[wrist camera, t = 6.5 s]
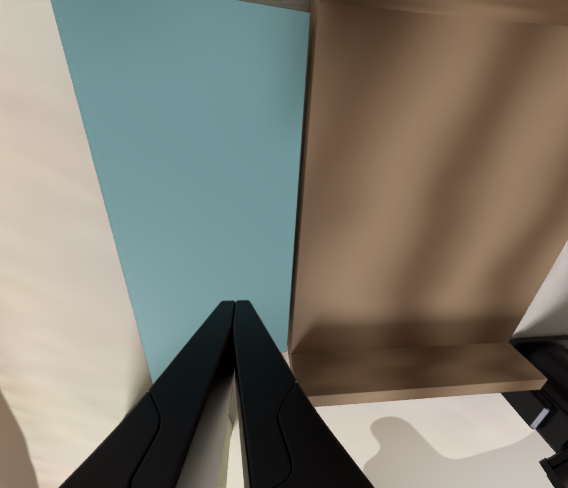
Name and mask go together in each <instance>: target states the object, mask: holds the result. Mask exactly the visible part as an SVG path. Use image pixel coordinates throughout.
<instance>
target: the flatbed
mask: <svg viewBox="0 0 568 488" xmlns="http://www.w3.org/2000/svg"><path fill="white" fill-rule="evenodd" d="M309 13H310V21H309V35H308V50H307V64H306V78H305V93H304V107H303V122H302V136H301V150H300V165H299V179H298V194H297V208H296V222H295V237H294V251H293V266H292V280H291V294H290V309H289V323H288V338H287V347H288V354H289V361H290V368H291V371H292V372H293V374H294V376H295V377H296V379H297V382H299V384H300V386H301V387H302V389H303V391H304V392H305V394H306V396H307V397H308V399H309V400H310V402H311V403H312V405H313V407H319V406H332V405H345V404H358V403H371V402H384V401H397V400H409V399H422V398H435V397H448V396H461V395H474V394H487V393H500V392H513V391H525V390H538V389H541V388H542V386H543V385H544V384H545V382H546V381H547V380H548V379H547V378H546V377H545V376H544V375H543V374H542V373H541V372H540V371H539V370H537V369H536V368H535V367H534V366H533V365H532V364H531V363H530V362H529V361H528V360H527V359H526V358H525V357H524V356H522V355H521V354H520V353H519V352H518V351H517V350H516V349H515V348H514V347H513V346H512V345H511V344H510V343H509V340H510V339H511V337H512V335H513V333H514V332H515V330H516V328H517V326H518V325H519V323H520V321H521V320H522V318H523V316H524V314H525V313H526V311H527V309H528V307H529V306H530V304H531V302H532V301H533V299H534V297H535V295H536V294H537V292H538V290H539V288H540V287H541V285H542V283H543V282H544V280H545V278H546V276H547V275H548V273H549V271H550V269H551V268H552V266H553V264H554V263H555V261H556V259H557V257H558V256H559V254H560V252H561V250H562V249H563V247H564V245H565V244H566V242H567V240H568V0H310V7H309Z"/></svg>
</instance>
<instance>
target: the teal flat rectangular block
mask: <svg viewBox="0 0 568 488" xmlns="http://www.w3.org/2000/svg"><path fill="white" fill-rule="evenodd" d="M51 4H52V8H53V11H54V15H55V19H56V23H57V26H58V30H59V34H60V38H61V41H62V45H63V49H64V53H65V56H66V60H67V64H68V68H69V72H70V75H71V79H72V83H73V87H74V90H75V94H76V98H77V102H78V105H79V109H80V113H81V117H82V120H83V124H84V128H85V132H86V135H87V139H88V143H89V147H90V150H91V154H92V158H93V162H94V165H95V169H96V173H97V177H98V180H99V184H100V188H101V192H102V195H103V199H104V203H105V207H106V211H107V214H108V218H109V222H110V226H111V229H112V233H113V237H114V241H115V244H116V248H117V252H118V256H119V259H120V263H121V267H122V271H123V274H124V278H125V282H126V286H127V289H128V293H129V297H130V301H131V304H132V308H133V312H134V316H135V319H136V323H137V327H138V331H139V334H140V338H141V342H142V346H143V349H144V353H145V357H146V361H147V365H148V368H149V372H150V376H151V380H152V383H154V382H155V381H156V380H157V378H158V377H159V376H160V375H161V374H162V372H163V371H164V370H165V369H166V368H167V366H168V365H169V364H170V363H171V361H172V360H173V359H174V358H175V357H176V355H177V354H178V353H179V352H180V351H181V349H182V348H183V347H184V346H185V344H186V343H187V342H188V341H189V340H190V338H191V337H192V336H193V335H194V333H195V332H196V331H197V330H198V329H199V327H200V326H201V325H202V324H203V323H204V321H205V320H206V319H207V318H208V316H209V315H210V314H211V313H212V312H213V310H214V309H215V308H216V307H217V306H218V304H219V303H220V302H221V301H225V300H234V301H235V303H236V301H237V300H249V301H250V302H251V303H252V305H253V307H254V308H255V310H256V312H257V314H258V315H259V317H260V319H261V320H262V322H263V324H264V325H265V327H266V329H267V330H268V332H269V334H270V335H271V337H272V339H273V340H274V342H275V344H276V345H277V347H278V349H279V351H280V352H285V351H287V338H288V323H289V309H290V294H291V280H292V266H293V251H294V237H295V222H296V208H297V194H298V179H299V165H300V150H301V136H302V122H303V107H304V93H305V78H306V64H307V50H308V35H309V21H310V13H309V12H303V11H297V10H292V9H286V8H280V7H274V6H268V5H262V4H256V3H250V2H245V1H239V0H51Z"/></svg>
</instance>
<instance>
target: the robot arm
mask: <svg viewBox="0 0 568 488" xmlns="http://www.w3.org/2000/svg"><path fill="white" fill-rule="evenodd" d="M510 344H511V345H512V346H513V347H514V348H515V349H516V350H517V351H518V352H519V353H520V354H521V355H522V356H524V357H525V358H526V359H527V360H528V361H529V362H530V363H531V364H532V365H533V366H534V367H535V368H536V369H537V370H539V371H540V372H541V373H542V374H543V375H544V376H545V377H546V378H547V379H548V380H547V381H546V382H545V384H544V385H543V386H542V388H541V389H538V390H525V391H513V392H500V393H501V394H502V395H503V396H504V398H505V399H506V400H507V401H508V402H509V403H510V405H511V406H512V407H513V408H514V409H515V410H516V412H517V413H518V414H519V415H520V416H521V417H522V419H523V420H524V421H525V422H526V423H527V424H528V426H529V427H530V428H532V429H536V431H537V432H538V433H539V434H540V435H541V436H542V437H543V439H544V440H545V441H546V442H547V443H548V444H549V446H550V447H551V448H552V449H553V450H554V451H555V452H556V454H554V455H553V456H551V457H549V458H548V459H547V458H544V459H543V460H541V461H539V463H540V464H541V466H542V468H543V469H544V471H545V472H546V473H547V477H548V478H549V480H550V482H551V483H552V485H553V486H554V487H555V488H568V336H560V337H541V338H522V339H514V340H512V341H510ZM234 375H235V383H236V395H237V407H238V419H239V430H240V442H241V454H242V465H243V477H244V488H374V487H373V485H372V484H371V482H370V481H369V480H368V479H367V477H366V476H365V475H364V473H363V472H362V471H361V469H360V468H359V467H358V466H357V464H356V463H355V462H354V460H353V459H352V458H351V457H350V455H349V454H348V453H347V451H346V450H345V449H344V447H343V446H342V445H341V444H340V442H339V441H338V440H337V438H336V437H335V436H334V435H333V433H332V432H331V431H330V429H329V428H328V426H327V425H326V424H325V422H324V421H323V420H322V418H321V417H320V415H319V414H318V413H317V411H316V410H315V408H314V407H313V405H312V403H311V402H310V400H309V399H308V397H307V396H306V394H305V392H304V391H303V389H302V387H301V386H300V384H299V382H297V379H296V377H295V376H294V374H293V372H292V371H291V369H290V367H289V366H288V364H287V362H286V361H285V359H284V357H283V356H282V354H281V352H280V351H279V349H278V347H277V345H276V344H275V342H274V340H273V339H272V337H271V335H270V334H269V332H268V330H267V329H266V327H265V325H264V324H263V322H262V320H261V319H260V317H259V315H258V314H257V312H256V310H255V308H254V307H253V305H252V303H251V302H250V301H249V300H237V301H236V303H235V301H234V300H225V301H221V302H220V303H219V304H218V306H217V307H216V308H215V309H214V310H213V312H212V313H211V314H210V315H209V316H208V318H207V319H206V320H205V321H204V323H203V324H202V325H201V326H200V327H199V329H198V330H197V331H196V332H195V333H194V335H193V336H192V337H191V338H190V340H189V341H188V342H187V343H186V344H185V346H184V347H183V348H182V349H181V351H180V352H179V353H178V354H177V355H176V357H175V358H174V359H173V360H172V361H171V363H170V364H169V365H168V366H167V368H166V369H165V370H164V371H163V372H162V374H161V375H160V376H159V377H158V378H157V380H156V381H155V382H154V383H153V385H152V386H151V387H150V388H149V392H146V393H145V394H144V395H143V397H142V398H141V399H140V400H139V401H138V403H137V404H136V405H135V406H134V407H133V409H132V410H131V411H130V412H129V413H128V414H127V415H126V417H125V418H124V419H123V420H122V421H121V422H120V424H119V425H118V426H117V427H116V428H115V429H114V430H113V431H112V432H111V434H110V435H109V436H108V437H107V438H106V439H105V440H104V441H103V442H102V443H101V444H100V445H99V446H98V447H97V448H96V450H95V451H94V452H93V453H92V454H91V455H90V456H89V457H88V458H87V459H86V460H85V461H84V462H83V463H82V464H81V465H80V466H79V467H78V468H77V469H76V470H75V471H74V472H73V473H72V474H71V475H70V476H69V477H68V478H67V479H66V480H65V482H64V483H63V484H62V485H61V486H60V487H59V488H217V484H218V477H219V471H220V465H221V459H222V452H223V446H224V440H225V434H226V427H227V421H228V415H229V409H230V402H231V396H232V390H233V383H234Z"/></svg>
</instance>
